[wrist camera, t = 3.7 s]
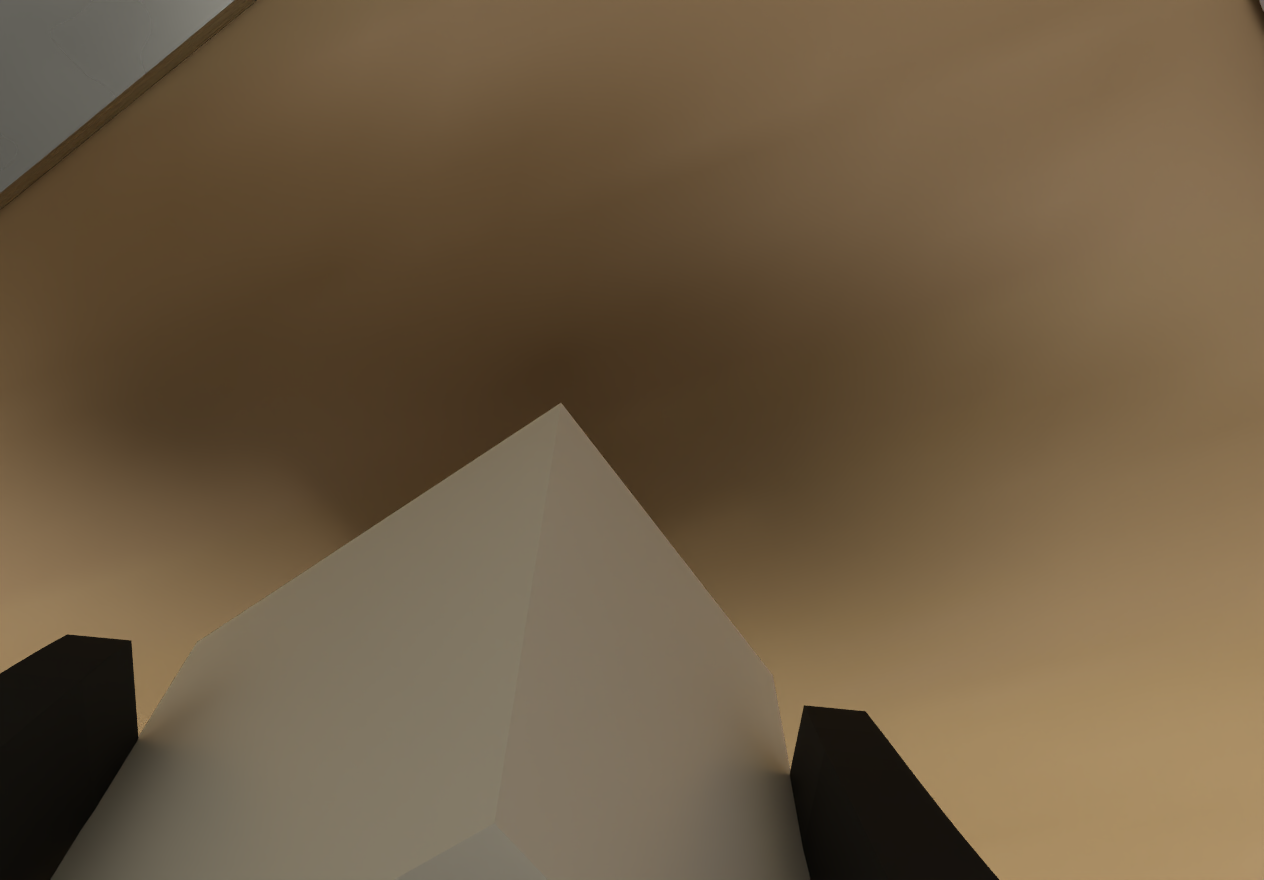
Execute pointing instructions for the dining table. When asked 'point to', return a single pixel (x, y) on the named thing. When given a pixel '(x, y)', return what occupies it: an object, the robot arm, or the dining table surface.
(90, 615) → the dining table surface
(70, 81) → the press bed
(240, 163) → the dining table surface
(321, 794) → the block
